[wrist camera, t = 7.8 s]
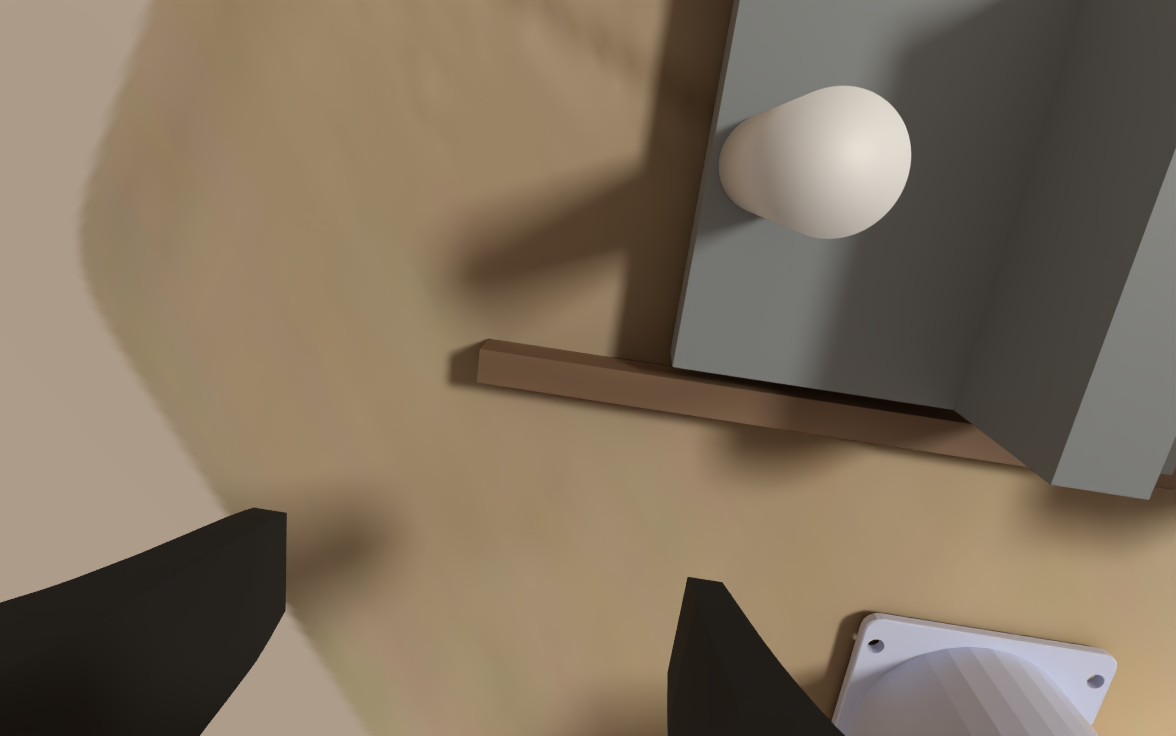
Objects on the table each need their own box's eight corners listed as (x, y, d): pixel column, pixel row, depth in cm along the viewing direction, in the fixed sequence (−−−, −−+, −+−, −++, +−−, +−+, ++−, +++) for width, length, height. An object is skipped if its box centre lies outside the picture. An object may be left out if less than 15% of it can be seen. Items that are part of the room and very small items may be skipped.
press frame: (1353, 503, 20) (1707, 671, 14) (485, 370, 21) (414, 467, 14) (1627, -26, 16) (2322, -157, 10) (539, -172, 17) (475, -393, 10)
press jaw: (1017, 405, 20) (1234, 542, 13) (669, 352, 20) (689, 457, 13) (1163, -20, 17) (1563, -159, 9) (747, -76, 17) (830, -254, 10)
